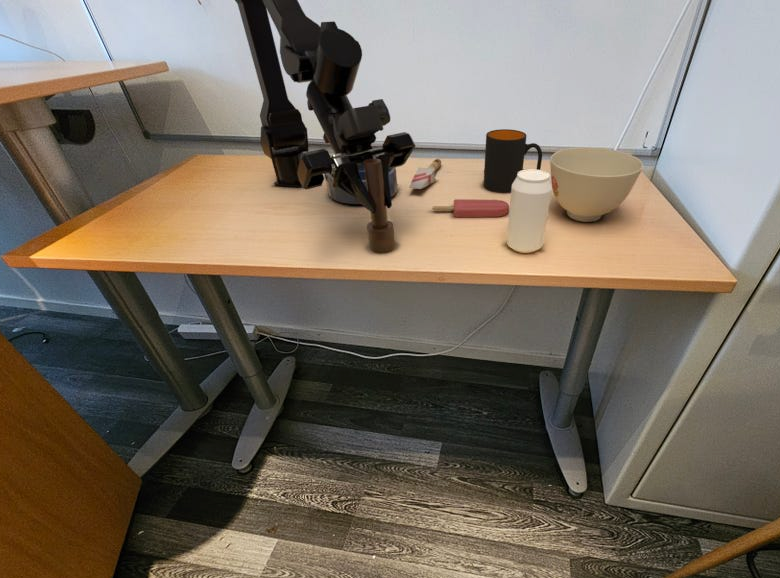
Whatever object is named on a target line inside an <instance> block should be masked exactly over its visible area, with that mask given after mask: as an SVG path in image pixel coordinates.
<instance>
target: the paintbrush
mask: <svg viewBox="0 0 780 578" xmlns="http://www.w3.org/2000/svg"><path fill="white" fill-rule="evenodd" d="M441 166H442V161H441V159H440V158H435V159H434V160H433V161H432V162H431V164H429V166H427V167H418V168H417V170H416V171H415V174H414V176H413V178H412V180H411V182H410V184H409V186H408V189H418V190H422V189H424V188H426V187H428V186H429V185H432V184H433V183H435V182H436V177H435V174H436V171H438V169H439V168H440V167H441Z"/></svg>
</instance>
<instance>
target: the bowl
mask: <svg viewBox="0 0 780 578" xmlns="http://www.w3.org/2000/svg"><path fill="white" fill-rule="evenodd" d="M549 161H550V162H549V163H550V164H549V166H550V167H549V168H550V182H551V185H552V193H553V196H554V198H555V200H556V201H557V203H558V204H559V205H560V206H561V207H562V208H563V209H564V210H565V211H566V214H567V216H568V217H569V219H572V220H574V221H577V222H584V223H590V222H591V223H592V222H597V221H598V220H600V219H602V216H603V215H607V214H608V213H611V212H612V211H613V210H615V209H616V208H618V207H619V206H620V205H622V203H624V201H625V200H626V199H627V198H628V196H629V194H630V193H631V191H632V190H633V188H634V186H635V184H636V182H637V181H638V179H639V176H640V175H641V172H642V171H643V169H644V163H643V161H641V159H639V158H638V157H636V156H635V155H633V154H630V153H627V152H623V151H620V150H617V149H611V148H602V147H571V148H564V149H562V150H561V149H560V150H558V151H556V152H554V153H553V154H551V156H550V158H549Z"/></svg>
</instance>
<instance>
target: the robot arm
mask: <svg viewBox="0 0 780 578" xmlns="http://www.w3.org/2000/svg"><path fill="white" fill-rule="evenodd" d="M234 1H235V3H236V4H237V7H238V10H239V14H240V18H241V22H242V26H243V29H244V32H245V36H246V41H247V43H248V44H247V45H248V47H249V51H250V55H251V58H252V62H253V65H254V69H255V73H256V77H257V80H258V84H259V87H260V91H261V94H262V98H263V99H262V100H263V101H262V105H261V109H260V113H259V118H260V122H261V126H260V140H259V141H260V146H261V149H262V151H263V154H264V155H265V156H267V157H268V158H269V159H270V160H271V163H272V166H273V170H274V174H275V177H276V181H274V183H273V185H274V186H277V187H291V188H292V187H293V188H302V189H303V190H310V189H314V188H319V187H322V186H323V183H324V181H325V173H330V175H331V176H332V178H333V181H332V184H331V185H332V186H333V187H334V188H335V187H339V188H340V189H342V190H343V191H345V192H346V193H348V194H349V195H351V196H352V197H353V198H355V199H356V200H357V201H358V202H359V203H361V204H360V205H362V206H363V207H364V208H365V209H366V210H367V211H369V213H370V212H371V213H375V211H376V208H375V205H374V203H373V200H372V198H371V197H370V195H369V193H368V191H367V189H366V187H365V185H364V183H363V182H362V180H361V178H360V176H359V172H358V167H357V166H359V165H364V160H366V159H371V158H376V159H380V160H381V164H382V173H383V183H384V192H385V202H386V209H391V208H392V206H393V202H392V196H391V193H390V186H389V172H388V170H389V169H391V168H395V167H396V168H399V167H402V166H404V165H405V164H406V163H407V161H408V159H409V158H410V156H411V154H412V153H413V151H414V150H415V148H416V143H415V141H414V139H413V137H412V136H411V134H410V133H408V132H406V131H403V132H399V133H393V134H388V135H387V136H386V137H385V139H384V141H383V143H382V145H381V146H377V147H373V146H372V144H374V143H375V142H376V140H377V136H376V133H378V132H379V131H380V132H382V131H384V127H385V126H386V125H388V124H389V123H390V122H391V115H390V111H389V108H388V106H387V104H386V103H385V101H384V99H383V98H380V99H374V100H372V101H371V102H369V103H368V105H364V106H358V107H353V106H352V103H351V100H350V99H349V97H348V95H349V94H351V92H352V91H353V89H354V85H355V82H356V78H357V75H358V72H359V69H360V65H361V62H362V58H363V50H362V46H361V44H360V42H359V41H358V40H357V39H355V38H354V37H353V36H352V35H351V34H350V33H349V32H347V31H346V30H343V29H341V28H338V25H337V23H336V22H335V21H333V20H332V21H321V22H320V24H318V23H317V22H315V21H313V19H311V18H309V17H308V16H307V14H305V12H304V10H303V8H302V6H301V4H300V2H299V0H234ZM269 17H270V18H271V20H272V22H273V24H274V27H275V29H276V30H277V33H278V35H279V55H280V59H279V56H278V51H277V47H276V42H275V38H274V34H273V29H272V26H271V21H270V18H269ZM280 60H281V63H280ZM281 65H282V67H283V69H284V71H285V73H286V75H288V76H289V77H290V79H291V80H292V82H294V83H298V84H300V83H301V84H303V83H308V85H307V88H306V93H305V96H306V99H307V103H306V104H307V109H308V111H313V113H314V115H315V116H316V119H317V121H318V123H319V125H320V127H321V129H322V132H323V135H322V139H323V141H324V142H325V144H329V145H330V148H331V149H332V151H333V154H330V152H329V151H328V150H327V149H326V148H320V149H316V150H311V151H309V148H310V147H309V146H310V145H309V135H308V128H307V127H306V124H305V123H304V121H303V118H302V117H303V116H302V113H301V111H300V109H298V108H296V106H294V104H293V103H292V101H290V99H289V96H288V93H287V89H286V85H285V84H286V83H285V80H284V75H283V72H282V68H281ZM371 213H370V214H371Z"/></svg>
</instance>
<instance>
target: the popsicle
mask: <svg viewBox="0 0 780 578" xmlns="http://www.w3.org/2000/svg"><path fill="white" fill-rule="evenodd" d="M509 209H510V203H508V202H507V201H504V200H502V199H479V198H478V199H477V198H476V199H474V198H472V199H471V198H470V199H469V198H467V199H465V198H464V199H463V198H461V199H459V198H456V199H454V200H453V205H434V206H432V210H434V211H453V217H455V218H487V217H488V218H494V217H495V218H498V217H504V216H506V215H507V214H509Z"/></svg>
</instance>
